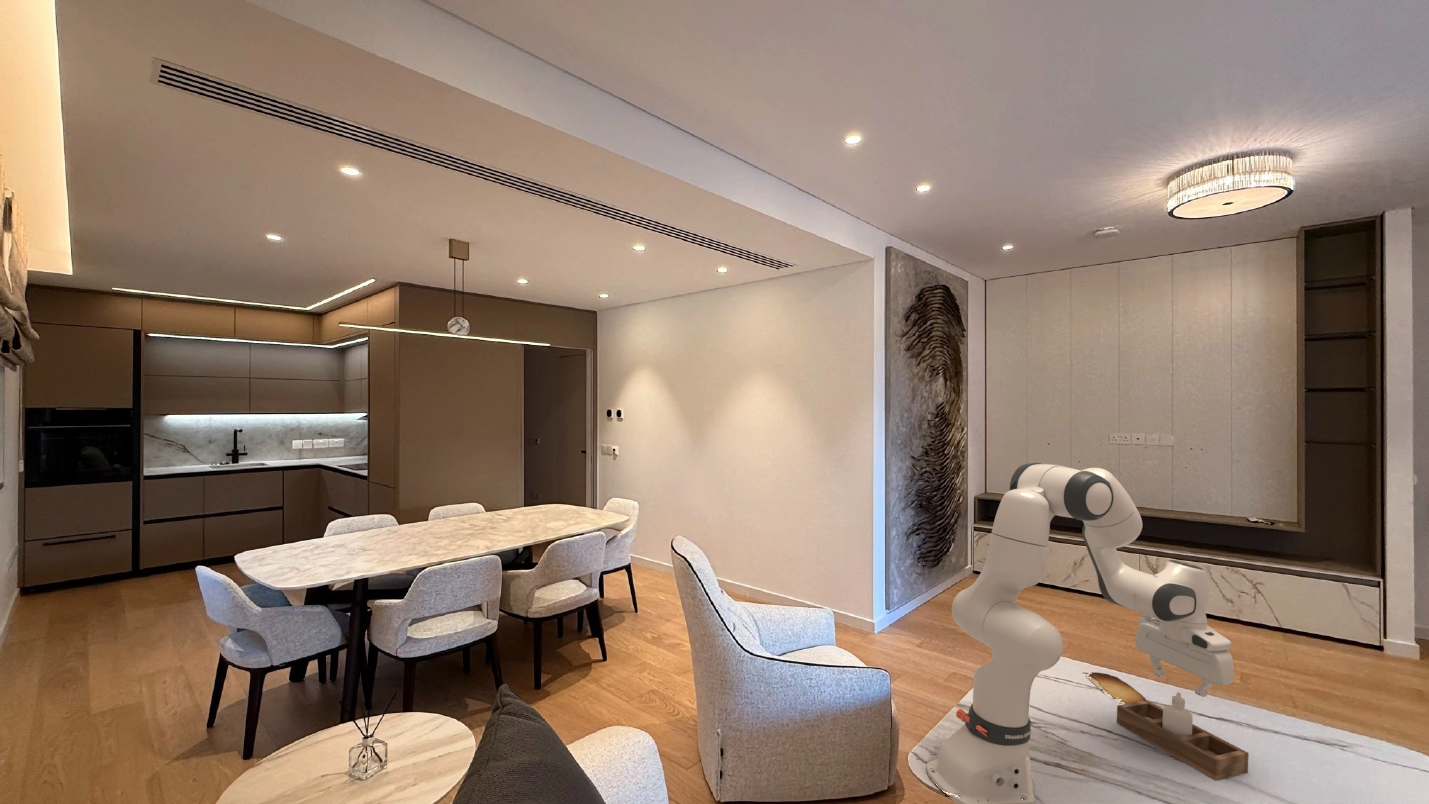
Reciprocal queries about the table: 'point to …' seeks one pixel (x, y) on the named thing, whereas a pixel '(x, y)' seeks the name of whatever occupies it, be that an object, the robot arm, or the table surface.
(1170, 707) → the eye dropper bottle
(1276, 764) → the table surface
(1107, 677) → the parchment
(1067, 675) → the table surface
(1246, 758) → the slot rack
